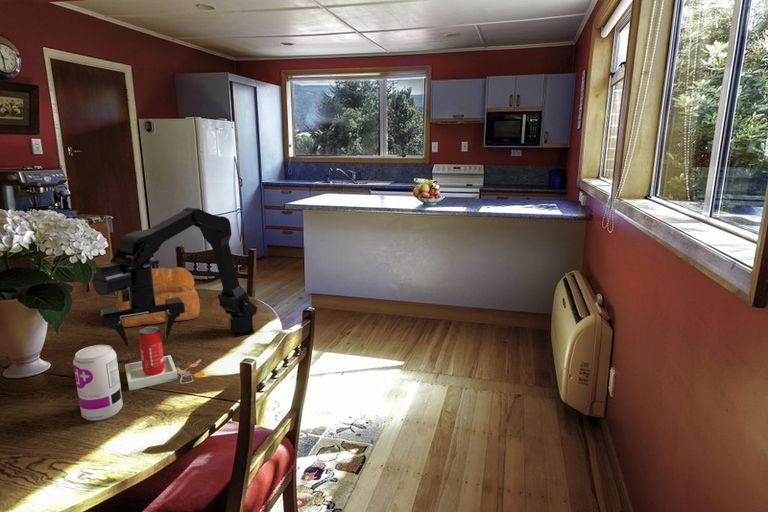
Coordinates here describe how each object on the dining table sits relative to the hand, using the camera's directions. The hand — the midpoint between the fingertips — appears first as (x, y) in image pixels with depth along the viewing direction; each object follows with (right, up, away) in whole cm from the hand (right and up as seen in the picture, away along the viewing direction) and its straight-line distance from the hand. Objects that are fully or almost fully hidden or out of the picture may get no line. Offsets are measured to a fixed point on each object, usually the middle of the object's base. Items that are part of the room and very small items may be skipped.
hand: (147, 342), depth 122 cm
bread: (-17, +1, +43) cm, 46 cm away
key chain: (+9, -9, +5) cm, 14 cm away
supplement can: (-3, -14, -14) cm, 20 cm away
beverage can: (0, -9, +3) cm, 9 cm away
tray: (0, -9, +2) cm, 10 cm away
